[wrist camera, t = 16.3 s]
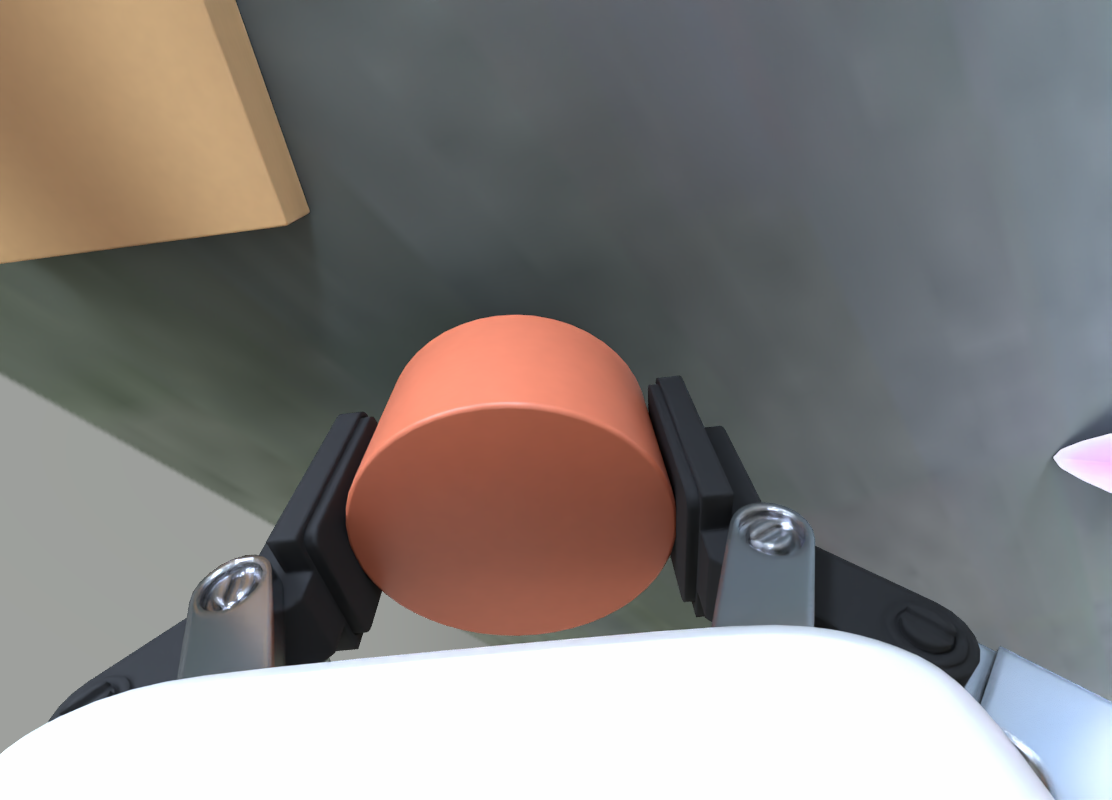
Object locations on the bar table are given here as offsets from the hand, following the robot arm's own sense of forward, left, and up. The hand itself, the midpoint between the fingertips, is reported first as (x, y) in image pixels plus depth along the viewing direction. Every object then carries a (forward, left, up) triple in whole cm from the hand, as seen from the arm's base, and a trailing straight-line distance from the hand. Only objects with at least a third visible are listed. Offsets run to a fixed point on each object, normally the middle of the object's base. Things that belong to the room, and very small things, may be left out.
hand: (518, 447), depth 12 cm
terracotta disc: (0, 0, -1) cm, 1 cm away
